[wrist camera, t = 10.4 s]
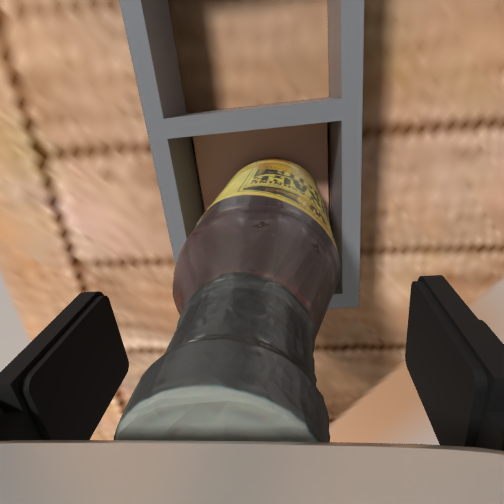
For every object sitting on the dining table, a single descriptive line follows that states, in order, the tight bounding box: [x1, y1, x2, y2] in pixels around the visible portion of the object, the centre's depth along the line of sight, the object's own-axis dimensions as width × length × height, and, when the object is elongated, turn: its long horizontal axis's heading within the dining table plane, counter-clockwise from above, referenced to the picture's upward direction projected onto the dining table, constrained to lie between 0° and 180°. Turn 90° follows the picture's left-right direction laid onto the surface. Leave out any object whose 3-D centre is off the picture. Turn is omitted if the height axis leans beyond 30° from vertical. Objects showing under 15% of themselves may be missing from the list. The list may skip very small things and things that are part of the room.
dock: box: [119, 0, 364, 309], centre depth 20 cm, size 11×23×5 cm, turn 6°
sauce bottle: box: [114, 157, 341, 442], centre depth 15 cm, size 7×6×20 cm
